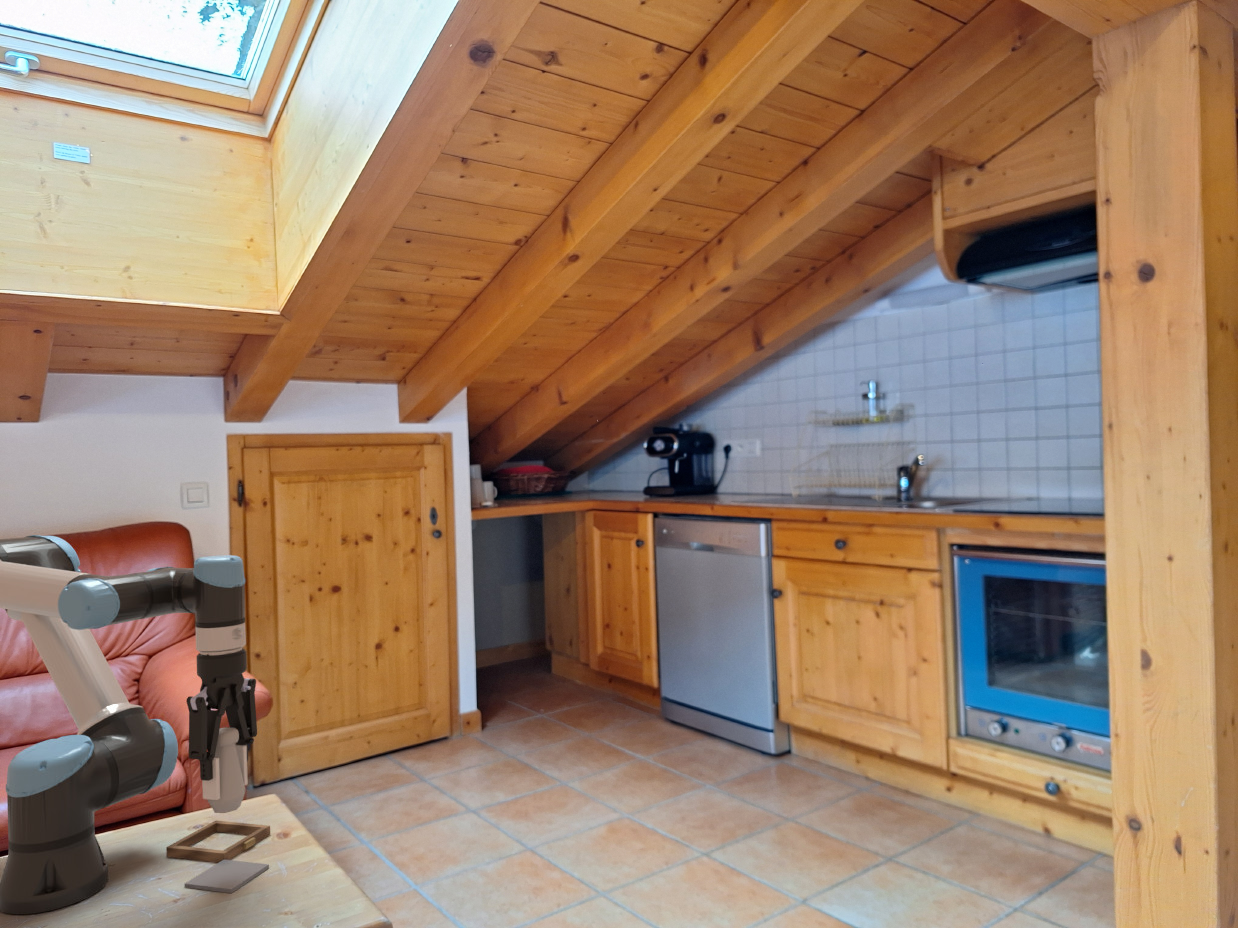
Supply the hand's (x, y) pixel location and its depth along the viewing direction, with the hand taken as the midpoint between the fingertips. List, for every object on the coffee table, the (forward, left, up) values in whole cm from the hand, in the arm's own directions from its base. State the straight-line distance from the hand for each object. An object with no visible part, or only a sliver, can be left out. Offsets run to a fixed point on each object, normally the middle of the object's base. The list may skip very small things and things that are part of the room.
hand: (225, 790), depth 145 cm
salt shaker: (0, 0, -3) cm, 3 cm away
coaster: (0, 0, -14) cm, 14 cm away
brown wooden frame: (-11, +11, -14) cm, 21 cm away
